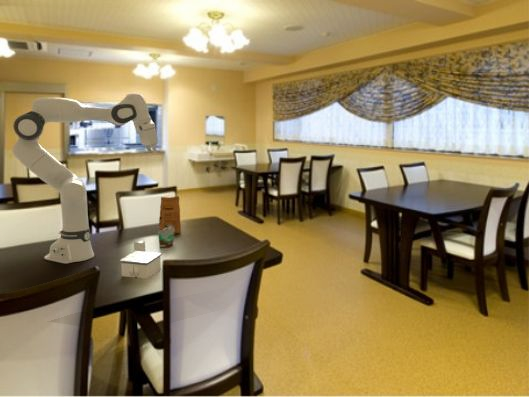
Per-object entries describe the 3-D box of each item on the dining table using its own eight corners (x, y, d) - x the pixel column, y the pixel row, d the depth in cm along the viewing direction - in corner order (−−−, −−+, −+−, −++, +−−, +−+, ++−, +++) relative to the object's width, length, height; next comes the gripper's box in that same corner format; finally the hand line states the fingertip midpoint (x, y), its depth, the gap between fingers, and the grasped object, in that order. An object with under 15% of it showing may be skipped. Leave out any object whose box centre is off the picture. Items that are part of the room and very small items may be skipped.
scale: (121, 276, 168) (120, 263, 167) (137, 266, 180) (136, 253, 179) (146, 279, 165) (146, 265, 164) (160, 268, 177) (160, 256, 176)
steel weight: (132, 261, 186) (131, 243, 184) (138, 257, 191) (137, 240, 189) (142, 262, 185) (141, 244, 183) (147, 258, 190) (146, 241, 188)
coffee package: (159, 231, 238) (157, 195, 234) (179, 229, 242) (178, 194, 238) (160, 235, 229) (158, 198, 225) (181, 233, 233) (180, 197, 229)
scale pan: (119, 262, 167) (119, 260, 166) (135, 252, 179) (135, 250, 179) (147, 264, 164) (147, 263, 164) (161, 254, 176) (161, 253, 176)
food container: (169, 249, 204) (168, 231, 202) (158, 248, 205) (157, 230, 203) (178, 242, 216) (178, 225, 214) (168, 242, 217) (167, 224, 215)
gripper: (133, 128, 202) (141, 154, 206) (142, 126, 184) (152, 155, 188) (145, 125, 205) (153, 151, 208) (155, 123, 187) (164, 151, 191)
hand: (152, 153), depth 198 cm, fingers open, 8 cm apart
